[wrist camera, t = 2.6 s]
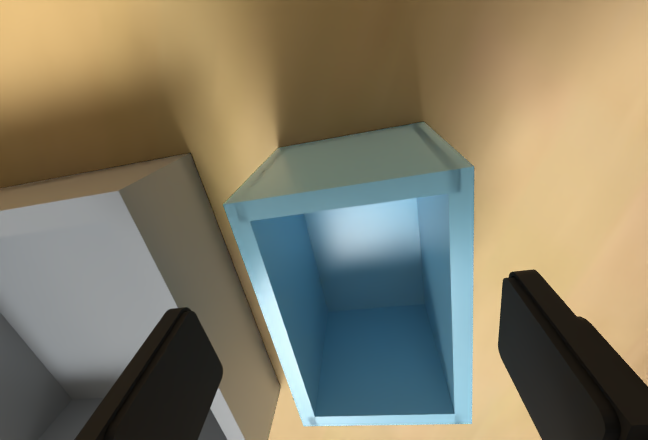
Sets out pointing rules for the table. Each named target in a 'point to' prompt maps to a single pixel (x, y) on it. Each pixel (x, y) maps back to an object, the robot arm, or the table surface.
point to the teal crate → (365, 274)
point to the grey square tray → (118, 297)
